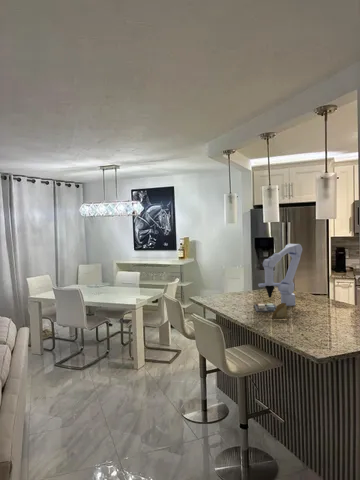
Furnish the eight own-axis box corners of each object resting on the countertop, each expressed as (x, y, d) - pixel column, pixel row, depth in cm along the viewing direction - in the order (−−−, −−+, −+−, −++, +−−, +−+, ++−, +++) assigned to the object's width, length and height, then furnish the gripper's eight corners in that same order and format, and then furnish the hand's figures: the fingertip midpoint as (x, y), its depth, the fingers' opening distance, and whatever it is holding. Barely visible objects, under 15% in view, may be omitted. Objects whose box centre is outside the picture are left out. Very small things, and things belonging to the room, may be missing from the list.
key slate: (273, 308, 237) (273, 305, 237) (274, 309, 233) (274, 306, 233) (267, 308, 237) (267, 305, 237) (268, 310, 233) (268, 306, 233)
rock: (271, 317, 212) (288, 315, 210) (268, 304, 217) (285, 302, 215) (272, 324, 221) (289, 322, 219) (270, 311, 226) (286, 309, 224)
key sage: (272, 306, 243) (272, 303, 243) (273, 307, 239) (273, 304, 239) (266, 306, 243) (266, 303, 243) (267, 307, 239) (267, 304, 239)
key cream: (264, 307, 238) (264, 304, 238) (265, 308, 234) (265, 305, 234) (258, 307, 238) (258, 304, 238) (258, 308, 234) (258, 305, 234)
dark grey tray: (275, 307, 247) (275, 304, 246) (278, 313, 229) (278, 310, 229) (254, 307, 248) (254, 304, 248) (256, 314, 231) (256, 310, 231)
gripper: (278, 275, 244) (279, 295, 245) (257, 276, 244) (257, 296, 245) (281, 277, 237) (281, 297, 238) (259, 278, 237) (260, 298, 238)
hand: (269, 297), depth 241 cm, fingers closed
